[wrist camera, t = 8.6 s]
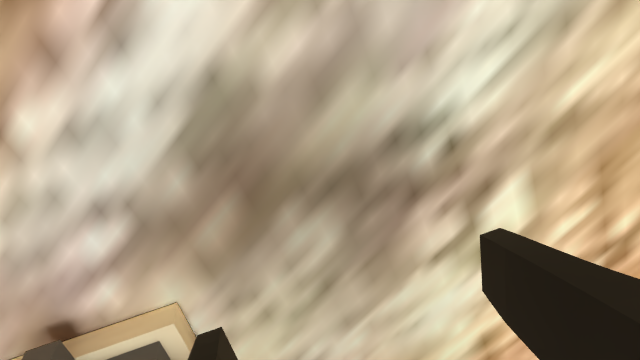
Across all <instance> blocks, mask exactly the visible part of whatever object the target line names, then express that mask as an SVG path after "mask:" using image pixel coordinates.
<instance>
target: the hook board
mask: <svg viewBox="0 0 640 360" xmlns="http://www.w3.org/2000/svg"><path fill="white" fill-rule="evenodd" d="M195 339H196V337H195V335H194V333H193V331H192V329H191V327H190V326H189V324H188V322H187V320H186V318H185V316H184V315H183V313H182V311H181V309H180V307H179V305H178V304H177V303H174V304H171V305H169V306H166V307H163V308H160V309H157V310H154V311H151V312H148V313H145V314H142V315H139V316H136V317H134V318H131V319H128V320H125V321H122V322H119V323H116V324H113V325H110V326H107V327H104V328H102V329H99V330H96V331H93V332H90V333H87V334H84V335H81V336H78V337H75V338H72V339H69V340H67V341H64V342H62V343H63V344H64V346H65V347H66V348H67V350H68V351H69V352H70V353H71V355H72V356H73V357H74V359H75V360H106V359H109V358H112V357H115V356H118V355H120V354H123V353H126V352H129V351H132V350H135V349H137V348H140V347H143V346H146V345H149V344H152V343H154V342H157V341H160V343H161V344H162V346H163V348H164V349H165V351H166V353H167V354H168V356H169V357H170V359H171V360H188V357H189V354H190V352H191V349H192V347H193V344H194V342H195ZM23 356H24V355H23ZM23 356H20V357H17V358H14V359H11V360H21V359H22V358H23Z"/></svg>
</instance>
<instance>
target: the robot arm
mask: <svg viewBox="0 0 640 360" xmlns="http://www.w3.org/2000/svg"><path fill="white" fill-rule="evenodd" d="M480 249H481V270H482V291H483V292H484V294H485V295H486V297H487V298H488V299H489V301H490V302H491V304H492V305H493V306H494V308H495V309H496V311H497V312H498V313H499V315H500V316H501V317H502V319H503V320H504V321H505V323H506V324H507V325H508V326H509V327H510V328H511V329H512V330H513V332H514V333H515V334H516V335H517V336H518V337H519V338H520V339H521V340H522V341H523V342H524V343H525V345H526V346H527V347H528V348H529V349H530V350H531V351H532V352H533V353H534V354H535V355H536V356H537V358H538V359H539V360H640V279H637V278H634V277H631V276H628V275H625V274H622V273H619V272H616V271H613V270H610V269H608V268H605V267H602V266H599V265H596V264H594V263H591V262H588V261H585V260H583V259H580V258H577V257H575V256H572V255H569V254H567V253H564V252H562V251H559V250H556V249H554V248H551V247H549V246H546V245H544V244H541V243H539V242H536V241H533V240H531V239H528V238H526V237H523V236H521V235H518V234H515V233H513V232H510V231H507V230H504V229H501V228H499V229H496V230H493V231H490V232H487V233H484V234H482V235H480ZM188 360H238V359H237V357H236V355H235V353H234V351H233V349H232V347H231V345H230V343H229V341H228V339H227V337H226V335H225V333H224V331H223V329H222V327H220V328H217V329H214V330H211V331H209V332H206V333H203V334H200V335H198V336H197V338H196V339H195V342H194V344H193V347H192V349H191V352H190V354H189V357H188Z"/></svg>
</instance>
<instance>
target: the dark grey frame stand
mask: <svg viewBox="0 0 640 360" xmlns="http://www.w3.org/2000/svg"><path fill="white" fill-rule="evenodd" d="M21 360H75V359H74V357H73V356H72V355H71V353H70V352H69V351H68V350H67V348H66V347H65V346H64V344H63V343H62V342H61V341H60V340H58V341H55V342H52V343H49V344H46V345H44V346H41V347H38V348H35V349H32V350H29V351H26V353H25V354H24V356H23V358H22V359H21ZM106 360H171V359H170V357H169V356H168V354H167V353H166V351H165V349H164V348H163V346H162V344H161V343H160V341H157V342H154V343H152V344H149V345H146V346H143V347H140V348H137V349H135V350H132V351H129V352H126V353H123V354H120V355H118V356H115V357H112V358H109V359H106Z"/></svg>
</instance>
